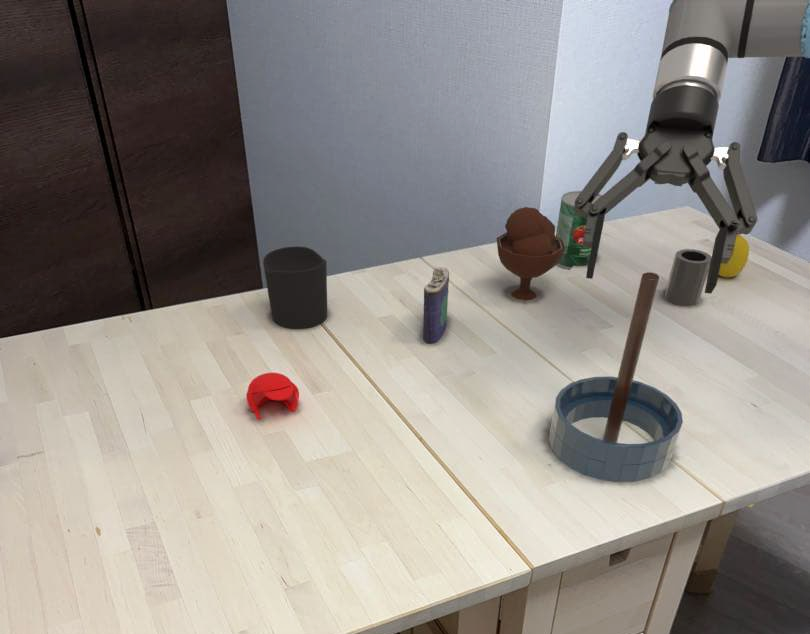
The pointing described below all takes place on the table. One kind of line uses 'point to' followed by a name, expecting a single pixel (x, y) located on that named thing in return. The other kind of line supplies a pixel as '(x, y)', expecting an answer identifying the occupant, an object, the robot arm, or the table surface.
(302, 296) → the pen holder
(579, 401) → the grey-blue hollow ring
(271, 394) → the cap
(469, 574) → the table surface
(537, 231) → the ice cream bowl
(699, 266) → the utensil pot
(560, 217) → the canned tomato
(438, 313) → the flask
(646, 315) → the stick
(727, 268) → the lemon
